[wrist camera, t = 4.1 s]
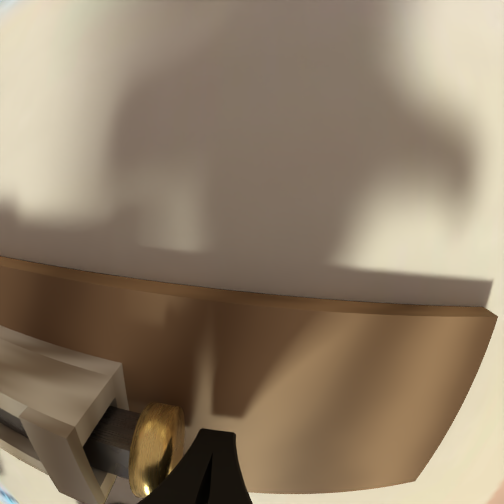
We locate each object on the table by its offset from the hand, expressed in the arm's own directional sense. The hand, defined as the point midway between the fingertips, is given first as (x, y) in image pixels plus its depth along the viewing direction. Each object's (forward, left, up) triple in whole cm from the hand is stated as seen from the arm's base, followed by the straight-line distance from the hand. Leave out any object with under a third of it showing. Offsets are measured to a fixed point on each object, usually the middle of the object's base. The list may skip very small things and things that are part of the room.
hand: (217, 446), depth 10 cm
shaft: (-5, +5, -1) cm, 8 cm away
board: (-1, +1, -3) cm, 3 cm away
